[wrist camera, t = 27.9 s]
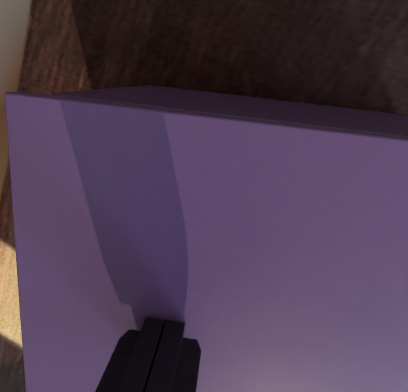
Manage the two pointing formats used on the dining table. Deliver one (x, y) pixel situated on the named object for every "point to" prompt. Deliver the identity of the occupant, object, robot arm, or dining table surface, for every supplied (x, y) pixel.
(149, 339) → the robot arm
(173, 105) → the box
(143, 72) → the dining table surface
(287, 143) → the lid
